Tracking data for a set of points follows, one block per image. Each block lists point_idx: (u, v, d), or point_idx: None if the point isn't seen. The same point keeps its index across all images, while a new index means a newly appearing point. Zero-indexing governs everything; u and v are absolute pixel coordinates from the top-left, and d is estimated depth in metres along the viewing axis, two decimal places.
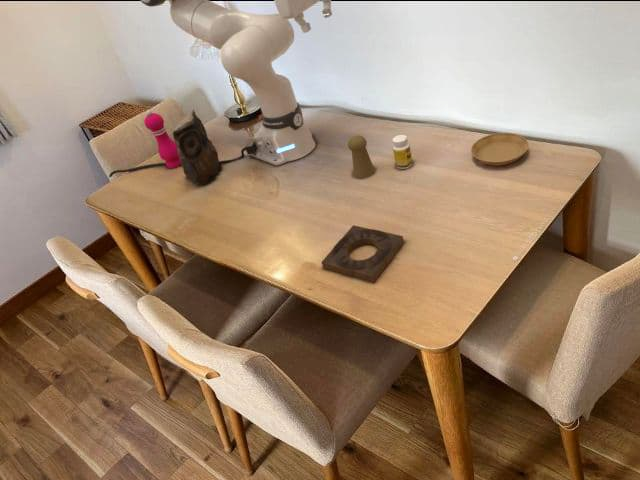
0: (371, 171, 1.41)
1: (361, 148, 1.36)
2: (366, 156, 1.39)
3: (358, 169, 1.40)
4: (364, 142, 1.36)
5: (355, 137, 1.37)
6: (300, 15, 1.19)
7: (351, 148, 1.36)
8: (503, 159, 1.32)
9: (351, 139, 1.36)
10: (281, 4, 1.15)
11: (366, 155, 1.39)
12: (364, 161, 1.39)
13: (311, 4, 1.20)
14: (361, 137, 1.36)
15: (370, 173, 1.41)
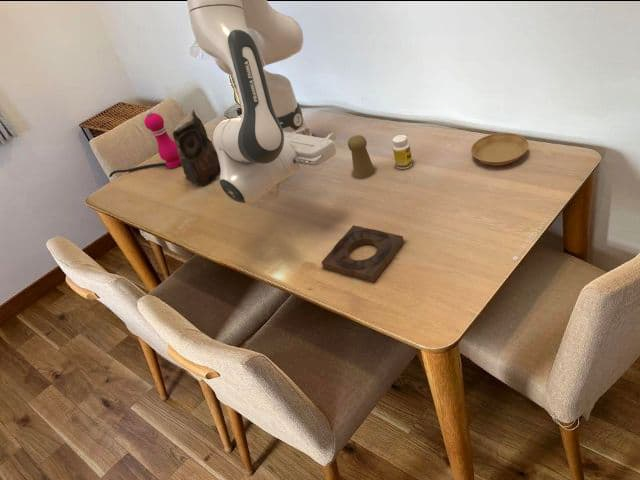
0: (371, 171, 1.41)
1: (361, 148, 1.36)
2: (366, 156, 1.39)
3: (358, 169, 1.40)
4: (364, 142, 1.36)
5: (355, 137, 1.37)
6: None
7: (351, 148, 1.36)
8: (503, 159, 1.32)
9: (351, 139, 1.36)
10: None
11: (366, 155, 1.39)
12: (364, 161, 1.39)
13: None
14: (361, 137, 1.36)
15: (370, 173, 1.41)
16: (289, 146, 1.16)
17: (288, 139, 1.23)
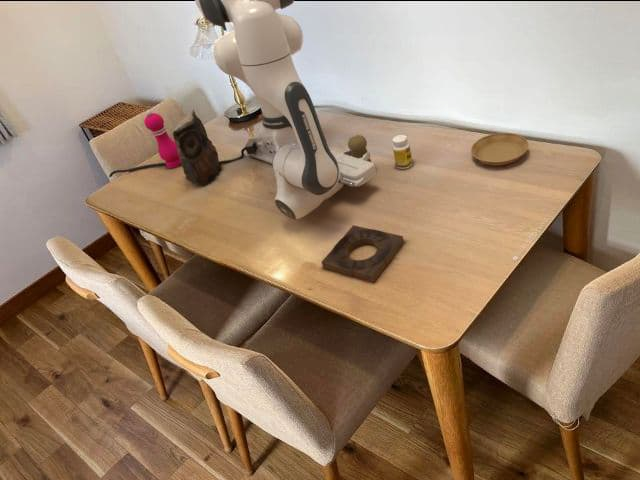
0: None
1: (361, 148, 1.36)
2: None
3: None
4: (364, 142, 1.36)
5: (355, 137, 1.37)
6: None
7: (351, 148, 1.36)
8: (503, 159, 1.32)
9: (351, 139, 1.36)
10: None
11: None
12: None
13: None
14: (361, 137, 1.36)
15: None
16: None
17: None
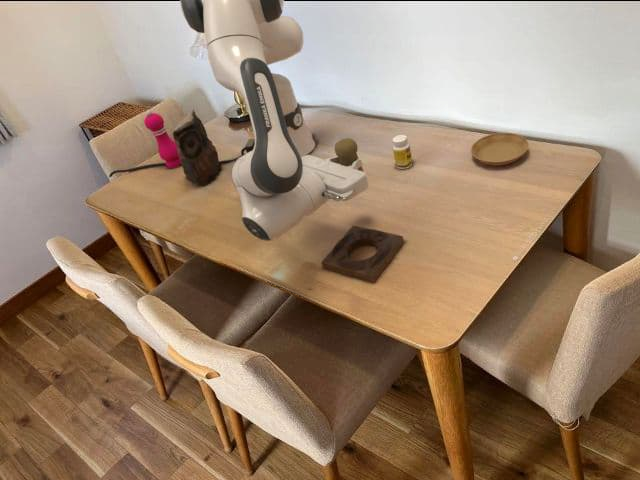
0: None
1: (351, 154, 1.12)
2: None
3: None
4: (354, 147, 1.12)
5: (343, 141, 1.13)
6: None
7: (339, 154, 1.12)
8: (503, 159, 1.32)
9: (339, 143, 1.13)
10: None
11: None
12: None
13: None
14: (351, 141, 1.12)
15: None
16: (318, 178, 1.06)
17: (316, 167, 1.13)
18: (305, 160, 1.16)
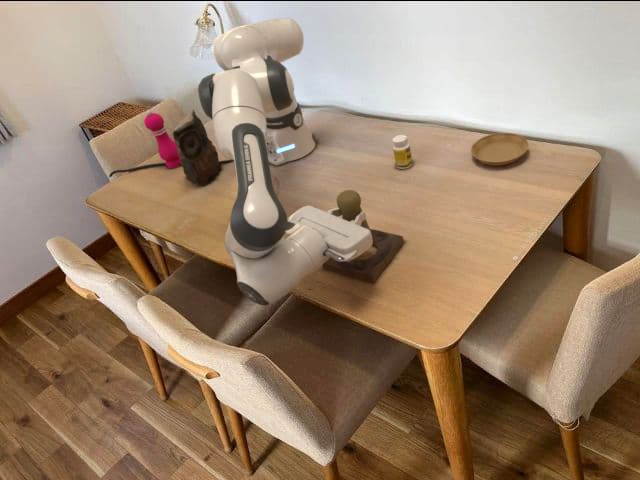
0: None
1: (354, 208, 1.05)
2: None
3: None
4: (358, 200, 1.05)
5: (346, 193, 1.05)
6: None
7: (341, 207, 1.05)
8: (503, 159, 1.32)
9: (341, 196, 1.05)
10: None
11: None
12: None
13: None
14: (354, 193, 1.05)
15: None
16: (319, 237, 0.99)
17: (317, 221, 1.06)
18: (305, 212, 1.09)
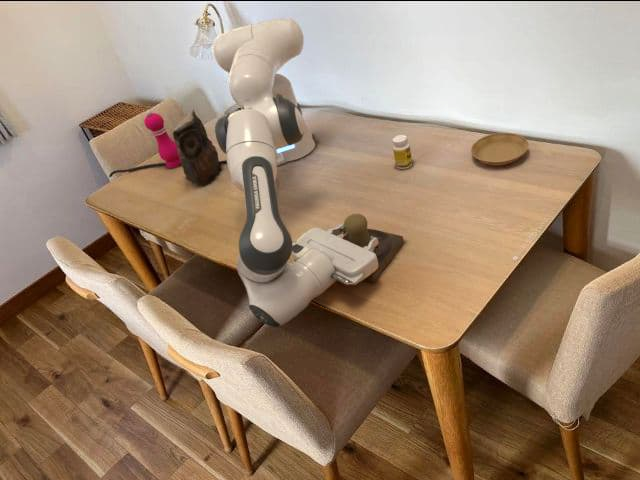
0: None
1: (361, 231, 1.09)
2: (367, 239, 1.12)
3: None
4: (364, 224, 1.09)
5: (353, 217, 1.10)
6: None
7: (348, 231, 1.09)
8: (503, 159, 1.32)
9: (348, 220, 1.10)
10: None
11: (367, 238, 1.12)
12: (364, 246, 1.12)
13: None
14: (361, 217, 1.09)
15: None
16: (327, 261, 1.04)
17: (325, 243, 1.10)
18: (313, 234, 1.14)
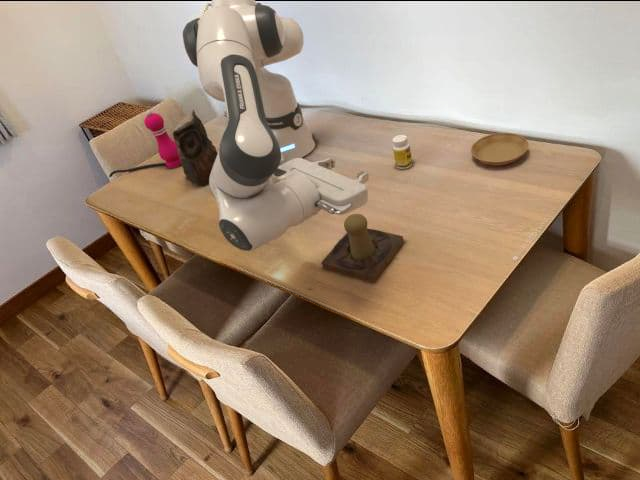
0: None
1: (361, 231, 1.09)
2: (367, 239, 1.12)
3: (357, 254, 1.13)
4: (364, 224, 1.09)
5: (353, 217, 1.10)
6: None
7: (348, 231, 1.09)
8: (503, 159, 1.32)
9: (348, 220, 1.10)
10: None
11: (367, 238, 1.12)
12: (364, 246, 1.12)
13: None
14: (361, 217, 1.09)
15: None
16: (312, 186, 0.93)
17: (310, 172, 0.99)
18: (297, 163, 1.03)
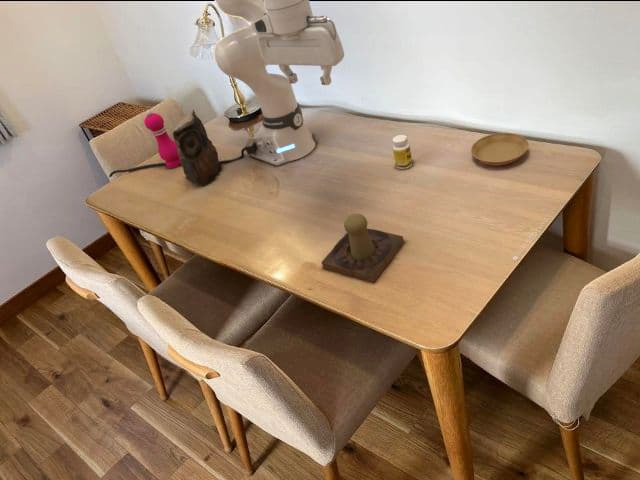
0: None
1: (361, 231, 1.09)
2: (367, 239, 1.12)
3: (357, 254, 1.13)
4: (364, 224, 1.09)
5: (353, 217, 1.10)
6: (280, 66, 1.10)
7: (348, 231, 1.09)
8: (503, 159, 1.32)
9: (348, 220, 1.10)
10: None
11: (367, 238, 1.12)
12: (364, 246, 1.12)
13: (291, 63, 1.07)
14: (361, 217, 1.09)
15: None
16: None
17: None
18: None
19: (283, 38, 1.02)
